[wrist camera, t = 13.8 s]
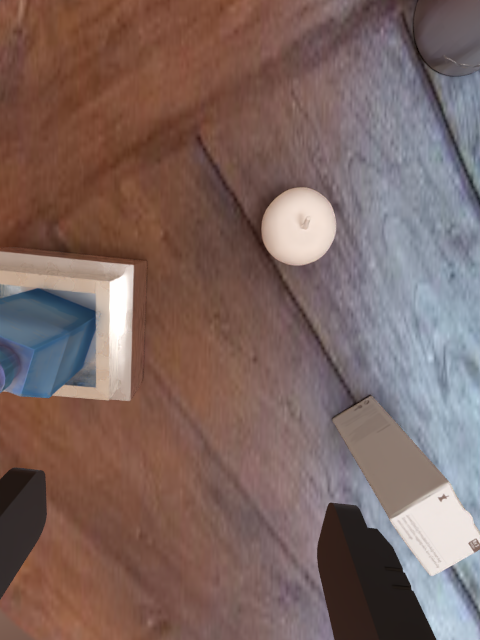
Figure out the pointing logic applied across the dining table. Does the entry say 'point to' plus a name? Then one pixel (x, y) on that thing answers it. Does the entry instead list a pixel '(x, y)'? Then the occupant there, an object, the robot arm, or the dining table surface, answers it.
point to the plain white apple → (298, 226)
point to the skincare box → (409, 487)
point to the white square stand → (96, 294)
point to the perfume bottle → (42, 342)
